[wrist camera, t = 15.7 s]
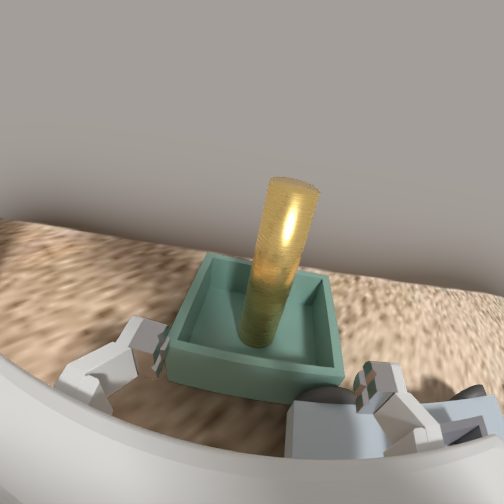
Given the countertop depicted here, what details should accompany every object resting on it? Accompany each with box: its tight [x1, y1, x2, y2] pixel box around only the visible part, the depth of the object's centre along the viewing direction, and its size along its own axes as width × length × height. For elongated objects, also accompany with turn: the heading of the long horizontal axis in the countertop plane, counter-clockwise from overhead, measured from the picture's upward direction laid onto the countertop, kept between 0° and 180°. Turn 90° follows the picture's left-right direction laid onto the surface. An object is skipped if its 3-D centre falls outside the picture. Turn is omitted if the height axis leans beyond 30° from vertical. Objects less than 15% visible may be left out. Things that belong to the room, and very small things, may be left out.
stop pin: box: [238, 177, 320, 349], centre depth 23 cm, size 4×4×15 cm
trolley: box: [284, 385, 504, 460], centre depth 11 cm, size 22×16×8 cm
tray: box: [165, 252, 345, 405], centre depth 26 cm, size 14×14×5 cm
